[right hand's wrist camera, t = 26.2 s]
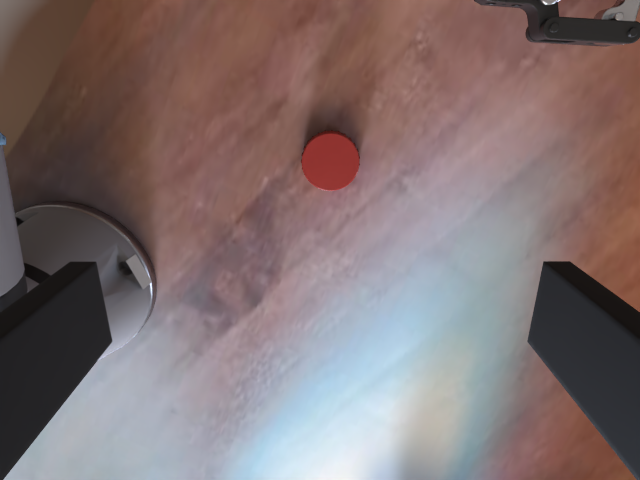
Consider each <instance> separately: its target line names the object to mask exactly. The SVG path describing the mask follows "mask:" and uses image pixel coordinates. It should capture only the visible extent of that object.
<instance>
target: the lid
mask: <svg viewBox="0 0 640 480" xmlns="http://www.w3.org/2000/svg"><path fill="white" fill-rule="evenodd" d="M355 146H356V145H355V143H353V142H352V141H351V138H348V137H347V136H346V135H345V134H342V133H339V131H338V132H335V131H333V130H331V131H324V132H322V133H318V134H317V135H316V136H312V139H311V140H310V141H308V142H307V145H306V147H304V152H303V153H302V160H301V163H302V169H303V172H304V175H305V176H306V178H307V179H308V181H309V182H310V183H311V184H313V185H314V186H316V187H317V188H320V189H322V190H328V191H333V190H338V189H341V188H344V187H345V186H347V185H348V184H349V183H350V182H351V181H352V180H353V179H354V178H355V176H356V174H357V172H358V169H359V165H360V164H359V159H360V157H359V155H358V149H356V147H355Z"/></svg>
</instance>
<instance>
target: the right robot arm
mask: <svg viewBox="0 0 640 480" xmlns="http://www.w3.org/2000/svg"><path fill="white" fill-rule="evenodd" d="M3 145H6V137H5V136H4V135H3V134H2V133H0V480H3V479H4V478H5V477H6V475H7V474H8V473H9V472H10V470H11V469H12V468H13V467H14V465H15V464H16V463H17V461H18V460H19V459H20V458H21V456H22V455H23V454H24V453H25V451H26V450H27V449H28V448H29V446H30V445H31V444H32V443H33V441H34V440H35V439H36V437H37V436H38V435H39V434H40V432H41V431H42V430H43V429H44V427H45V426H46V425H47V424H48V422H49V421H50V420H51V419H52V417H53V416H54V415H55V413H56V412H57V411H58V410H59V408H60V407H61V406H62V405H63V403H64V402H65V401H66V400H67V398H68V397H69V396H70V395H71V393H72V392H73V391H74V390H75V388H76V387H77V386H78V384H79V383H80V382H81V381H82V379H83V378H84V377H85V376H86V374H87V373H88V372H89V371H90V369H91V368H92V367H93V366H94V364H95V363H96V362H97V361H98V360H100V359H102V358H103V357H105V356H107V355H109V354H110V353H112V352H114V351H116V350H118V349H120V348H121V347H123V346H124V345H125V344H127V343H128V342H129V341H130V340H131V339H132V338H134V336H135V335H136V334H137V333H138V332H139V331H140V330H141V328H142V327H143V326H144V324H145V323H146V322H147V320H148V318H149V317H150V315H151V313H152V310H153V308H154V304H155V300H156V279H155V274H154V270H153V267H152V264H151V261H150V259H149V257H148V255H147V253H146V252H145V250H144V248H143V247H142V246H141V244H140V243H139V241H138V240H137V239H136V238H135V237H134V236H133V234H132V233H131V232H129V231H128V230H127V229H126V228H125V227H124V226H123V225H121V224H120V223H119V222H118V221H116V220H115V219H113V218H112V217H110V216H108V215H106V214H105V213H103V212H100V211H98V210H96V209H94V208H91V207H88V206H85V205H81V204H76V203H71V202H46V203H41V204H37V205H34V206H30V207H28V208H26V209H23V210H21V211H19V212H17V213H15V212H14V206H13V201H12V195H11V190H10V184H9V178H8V173H7V167H6V161H5V156H4V150H3ZM527 342H528V343H529V344H530V345H531V347H532V348H533V349H534V350H535V352H536V353H537V354H538V355H539V357H540V358H541V359H542V360H543V362H544V363H545V364H546V366H547V367H548V368H549V369H550V371H551V372H552V373H553V374H554V376H555V377H556V378H557V379H558V381H559V382H560V383H561V384H562V386H563V387H564V388H565V390H566V391H567V392H568V393H569V395H570V396H571V397H572V398H573V400H574V401H575V402H576V403H577V405H578V406H579V407H580V408H581V410H582V411H583V412H584V413H585V415H586V416H587V417H588V419H589V420H590V421H591V422H592V424H593V425H594V426H595V427H596V429H597V430H598V431H599V432H600V434H601V435H602V436H603V437H604V439H605V440H606V441H607V443H608V444H609V445H610V446H611V448H612V449H613V450H614V451H615V453H616V454H617V455H618V456H619V458H620V459H621V460H622V461H623V463H624V464H625V465H626V467H627V468H628V469H629V470H630V472H631V473H632V474H633V475H634V477H635V478H636V479H637V480H640V312H638V311H637V310H636V309H634V308H633V307H632V306H630V305H629V304H627V303H626V302H625V301H623V300H622V299H621V298H619V297H618V296H616V295H615V294H614V293H612V292H611V291H610V290H608V289H607V288H605V287H604V286H603V285H601V284H600V283H599V282H597V281H596V280H594V279H593V278H592V277H590V276H589V275H588V274H586V273H585V272H583V271H582V270H581V269H579V268H578V267H577V266H575V265H574V264H572V263H571V262H543V267H542V272H541V277H540V282H539V287H538V292H537V297H536V302H535V307H534V312H533V317H532V322H531V327H530V332H529V337H528V341H527Z"/></svg>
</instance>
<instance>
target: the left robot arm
mask: <svg viewBox="0 0 640 480" xmlns="http://www.w3.org/2000/svg"><path fill="white" fill-rule="evenodd" d="M474 1H475V2H477V3H479V4H480V5H488V6H501V7H515V8H521V9H523V10H524V11H525V12H526V14H527V17H528V27H527V29H526V38H527V40H528V41H530V42H538V43H555V44H572V45H590V46H613V45H622V44H629V43H634V42H636V41H637V40H638V39H639V38H640V23H639V22H636V21H635V20H636V17H637V13H638V10H639V6H640V0H617V1H616V3H615V5H614V6H613V7H611V8H609V9H605V10H601V11H599V12H598V13H597V14H596V16H595V17H594V19H587V18H570V17H559V12H558V1H559V0H474Z"/></svg>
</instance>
